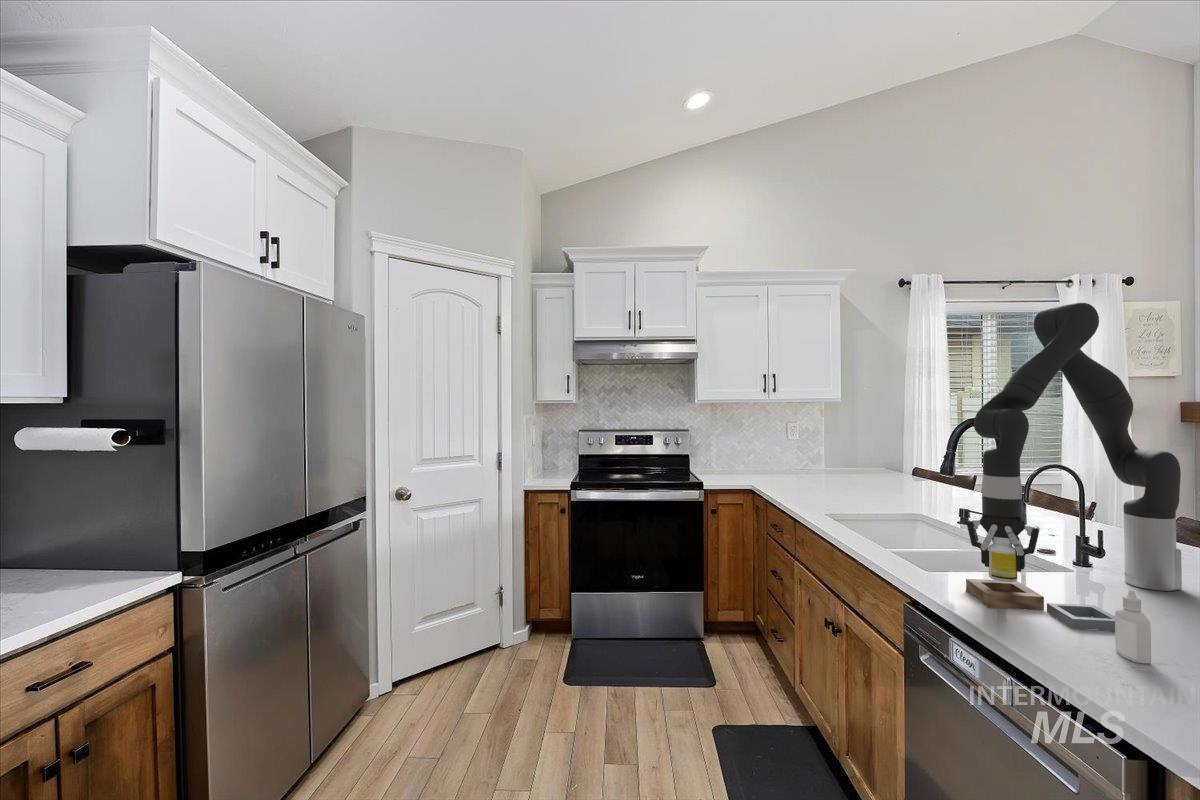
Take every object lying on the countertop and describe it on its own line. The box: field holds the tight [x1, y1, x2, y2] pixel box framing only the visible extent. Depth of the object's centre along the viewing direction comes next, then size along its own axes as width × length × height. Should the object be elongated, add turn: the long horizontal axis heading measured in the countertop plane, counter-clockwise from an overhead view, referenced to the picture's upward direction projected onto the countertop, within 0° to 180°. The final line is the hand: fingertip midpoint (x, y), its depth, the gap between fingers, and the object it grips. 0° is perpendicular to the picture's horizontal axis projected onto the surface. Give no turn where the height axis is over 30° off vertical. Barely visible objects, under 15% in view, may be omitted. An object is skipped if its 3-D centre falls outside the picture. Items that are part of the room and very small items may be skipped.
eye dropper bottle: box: [1114, 589, 1152, 665], centre depth 101 cm, size 4×6×12 cm
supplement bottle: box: [988, 537, 1018, 582], centre depth 130 cm, size 5×5×10 cm
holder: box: [1046, 602, 1115, 632], centre depth 117 cm, size 9×9×2 cm
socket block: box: [965, 578, 1045, 612], centre depth 130 cm, size 11×11×3 cm
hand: (1002, 568), depth 130 cm, fingers closed on supplement bottle, 5 cm apart
